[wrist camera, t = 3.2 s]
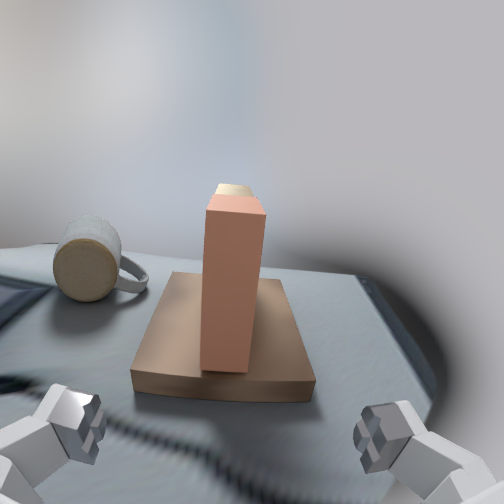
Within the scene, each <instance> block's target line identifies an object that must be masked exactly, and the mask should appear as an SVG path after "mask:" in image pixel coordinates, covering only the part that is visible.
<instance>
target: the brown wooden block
mask: <svg viewBox="0 0 504 504" xmlns="http://www.w3.org/2000/svg"><path fill="white" fill-rule="evenodd" d="M215 194H223V195H236V196H247V197H254V196H253V194H252V192H251V190H250V188H249V186H243V185H232V184H219V186H218V188H217V190H216V193H215ZM202 275H203V274H195V273H183V272H172V274H171V276H170V278H169V280H168V283H167V285H166V287H165V289H164V291H163V294H162V296H161V298H160V300H159V302H158V305H157V307H156V309H155V311H154V314H153V316H152V318H151V321H150V323H149V325H148V328H147V330H146V332H145V334H144V337H143V339H142V342H141V344H140V346H139V349H138V351H137V354H136V356H135V358H134V361H133V363H132V366H131V368H130V372H131V378H132V384H133V390H134V391H137V392H143V393H150V394H158V395H166V396H174V397H184V398H194V399H206V400H221V401H242V402H308V401H310V399H311V396H312V393H313V389H314V386H315V383H316V379H315V376H314V373H313V370H312V367H311V365H310V362H309V359H308V356H307V353H306V350H305V348H304V345H303V342H302V339H301V336H300V333H299V331H298V328H297V325H296V322H295V320H294V317H293V314H292V311H291V308H290V306H289V303H288V300H287V297H286V295H285V292H284V289H283V286H282V284H281V281H280V280H278V279H263V278H259V281H258V289H257V298H256V306H255V315H254V323H253V331H252V339H251V347H250V356H249V364H248V372H247V373H241V372H223V371H208V370H200V330H201V298H202Z"/></svg>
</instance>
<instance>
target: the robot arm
mask: <svg viewBox="0 0 504 504" xmlns="http://www.w3.org/2000/svg"><path fill="white" fill-rule="evenodd" d="M100 404H101V401H100V398H99V395H97V394H94V393H90V392H86V391H82V390H78V389H74V388H71V387H66V386H63V385H59V384H56V383H55V384H54V385H52V386H51V387H50V389H49V390H48V392H47V394H46V395H45V397H44V398H43V400H42V402H41V403H40V405H39V407H38V408H37V410H36V412H35V413H34V415H33V417H32V416H27V417H25V418H23V419H21V420H19V421H17V422H15V423H12V424H10V425H8V426H6V427H4V428H2V429H0V504H44V502H43V500H42V498H41V497H40V496H39V495H38V494H37V493H36V491H35V490H34V489H33V488H35V487H36V486H37V485H39V484H40V483H41V482H43V481H44V480H45V479H46V478H48V477H49V476H50V475H52V474H53V473H54V472H55V471H57V470H58V469H59V468H61V467H62V466H63V465H64V464H66V463H67V462H68V461H70V460H69V459H72V460H75V461H79V462H83V463H87V464H91V465H94V463H95V460H96V457H97V454H98V452H99V448H98V446H97V443H98V442H99V441H101V440H102V439H103V437H104V434H105V429H106V418H105V414H104V412H103V411H102V410H101V409H100V408H99V407H100ZM361 416H362V418H363V419H361V420H360V421H359V422H358V423H356V426H355V428H354V433H353V440H354V445H355V447H356V449H357V450H358V451H360V452H361V453H362V455H361V458H360V461H361V463H362V466H363V468H364V471H365V473H366V474H369V473H374V472H380V471H385V470H388V471H389V472H390V473H391V474H393V475H394V476H395V477H396V478H397V479H399V480H400V481H401V482H402V483H404V484H405V485H406V486H407V487H409V488H410V489H411V490H412V491H414V492H415V493H416V494H418V495H419V496H420V497H421V498H423V499H424V501H423V502H422V503H421V504H504V479H503V480H501V481H500V482H498V483H497V481H496V480H495V478H494V477H493V475H492V474H491V472H490V470H489V469H488V467H487V466H486V464H485V463H484V461H483V460H482V458H481V457H478V456H477V455H475V454H473V453H471V452H469V451H467V450H465V449H463V448H461V447H459V446H458V445H455V444H454V443H452V442H450V441H448V440H446V439H445V438H443V437H441V436H439V435H437V434H435V433H434V432H428V431H427V429H426V428H425V426H424V425H423V423H422V421H421V420H420V418H419V417H418V415H417V413H416V412H415V410H414V409H413V407H412V405H411V404H410V402H408V401H407V400H404V401H398V402H393V403H392V402H391V403H384V404H377V405H370V406H366V407H365V408H364V409H363V411H362V413H361Z"/></svg>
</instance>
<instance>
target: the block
mask: <svg viewBox="0 0 504 504" xmlns="http://www.w3.org/2000/svg"><path fill="white" fill-rule="evenodd" d="M265 220H266V214H265V212H264V210H263V208H262V206H261V204H260V203H259V201H258V199H257V197H247V196H236V195H223V194H213V196H212V198H211V201H210V203H209V205H208V207H207V209H206V222H205V237H204V256H203V275H202V298H201V330H200V370H208V371H223V372H241V373H247V372H248V364H249V356H250V347H251V339H252V331H253V323H254V315H255V306H256V298H257V289H258V281H259V272H260V264H261V255H262V247H263V238H264V229H265Z"/></svg>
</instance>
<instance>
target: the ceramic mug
mask: <svg viewBox="0 0 504 504" xmlns="http://www.w3.org/2000/svg"><path fill="white" fill-rule="evenodd" d="M119 268H121V269H123V270H125V271H127V272H128V273H130V274H132V275H133V276H134V277H136V278H137V279H138V280H139V281H134V280H131V279H128V278H125V277H122V276H120V275H119ZM53 273H54V277H55V280H56V283H57V285H58V286H59V288H60V289H61V290H62V291H63V292H64V293H65V294H66V295H67V296H68V297H70V298H72V299H74V300H77V301H81V302H93V301H97V300H100V299H101V298H103V297H105V296H106V295H107V294H109V292H110V291H111V290H112V289H113V288H116V289H118V290H121V291H124V292H128V293H140V292H142V291H144V290H145V287H146V285H147V282H148V279H149V277H148V274H147V272H146V271H145V270H144V269H143V268H142V267H141V266H140V265H138V264H137V263H135V262H134V261H132V260H131V259H129V258H127V257H125V256H122V255H121V241H120V238H119V235H118V233H117V231H116V229H115V228H114V227H113V226H112V225H111V224H110V223H109V222H108V221H106V220H104V219H102V218H100V217H97V216H90V215H89V216H82V217H79V218H77V219H75V220H74V221H72V222H71V223H70V224H69V225H68V226H67V227H66V229H65V231H64V233H63V235H62V237H61V240H60V242H59V245H58V247H57V249H56V252H55V255H54V260H53Z"/></svg>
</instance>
